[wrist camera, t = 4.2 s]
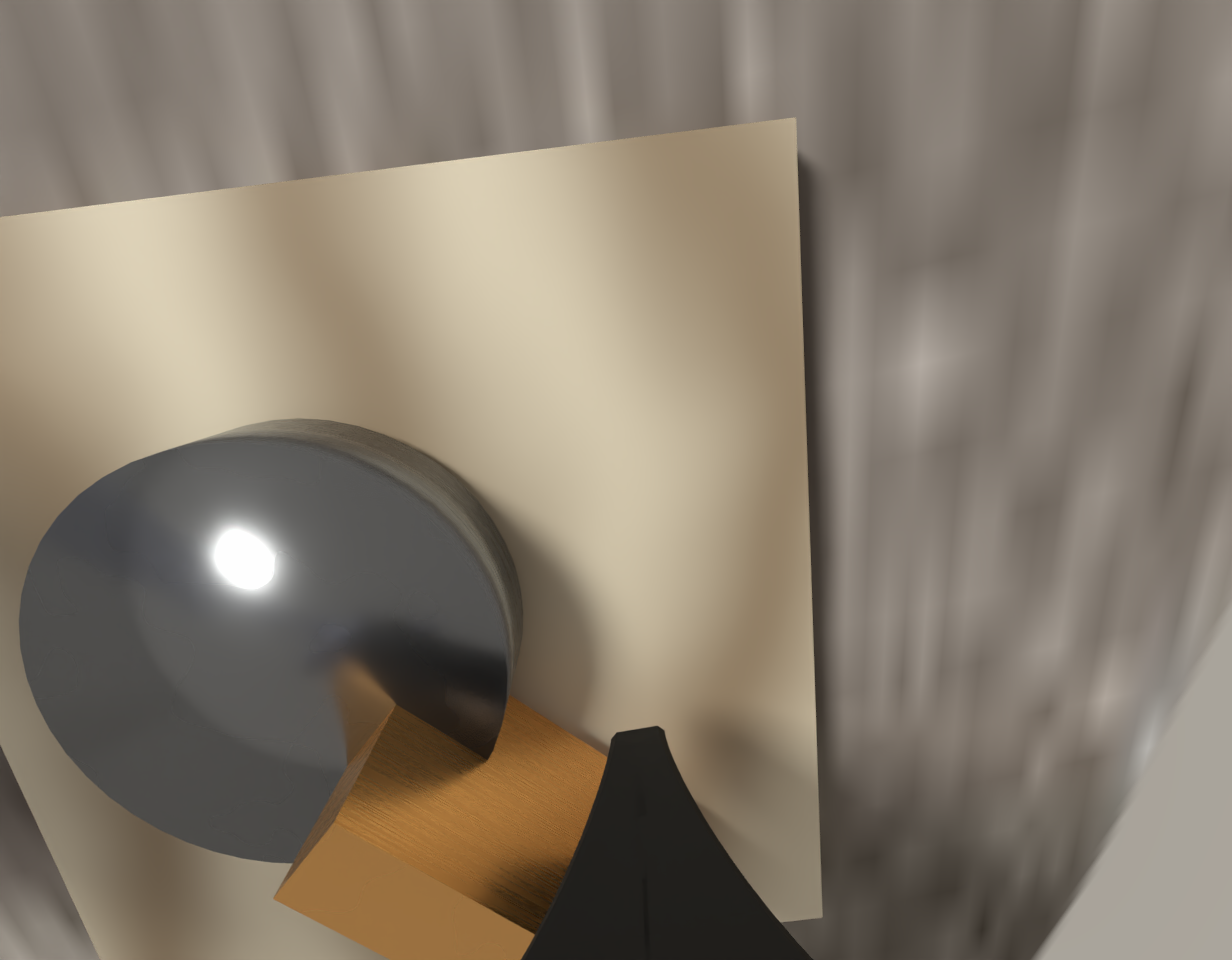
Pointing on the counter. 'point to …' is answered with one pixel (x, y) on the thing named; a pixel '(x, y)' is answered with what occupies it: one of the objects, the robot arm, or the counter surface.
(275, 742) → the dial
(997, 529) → the counter surface
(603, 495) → the panel
